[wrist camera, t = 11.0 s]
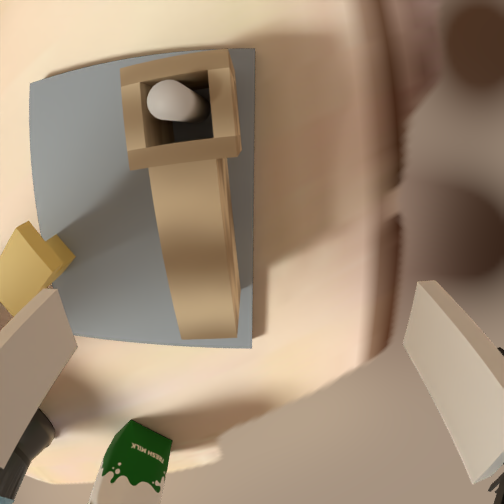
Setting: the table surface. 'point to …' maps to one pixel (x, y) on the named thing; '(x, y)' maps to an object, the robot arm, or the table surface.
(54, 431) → the robot arm
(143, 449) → the milk carton
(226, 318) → the link
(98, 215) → the deck
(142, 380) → the table surface
